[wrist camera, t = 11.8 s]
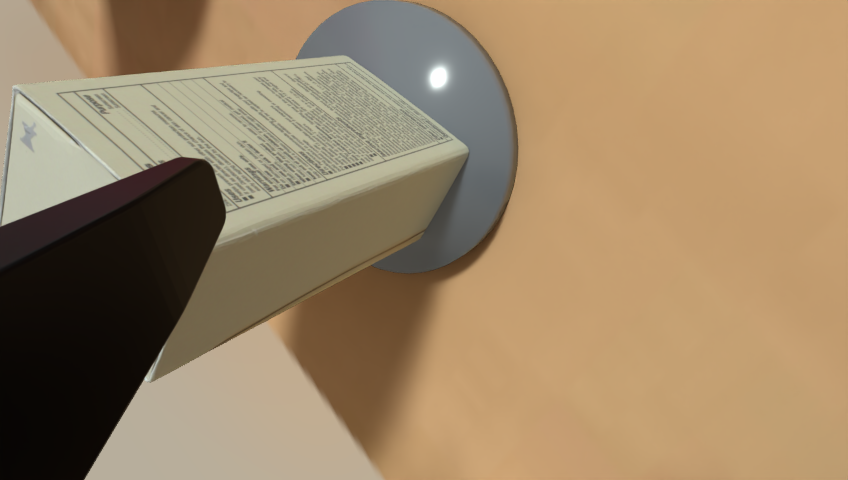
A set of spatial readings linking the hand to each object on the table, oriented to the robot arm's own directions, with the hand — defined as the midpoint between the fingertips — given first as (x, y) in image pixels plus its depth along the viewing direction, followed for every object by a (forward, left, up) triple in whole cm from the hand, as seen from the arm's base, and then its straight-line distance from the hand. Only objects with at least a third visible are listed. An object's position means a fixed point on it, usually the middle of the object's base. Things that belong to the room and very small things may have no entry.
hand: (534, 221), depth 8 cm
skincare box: (+1, +11, -13) cm, 17 cm away
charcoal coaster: (+1, +11, -13) cm, 18 cm away
